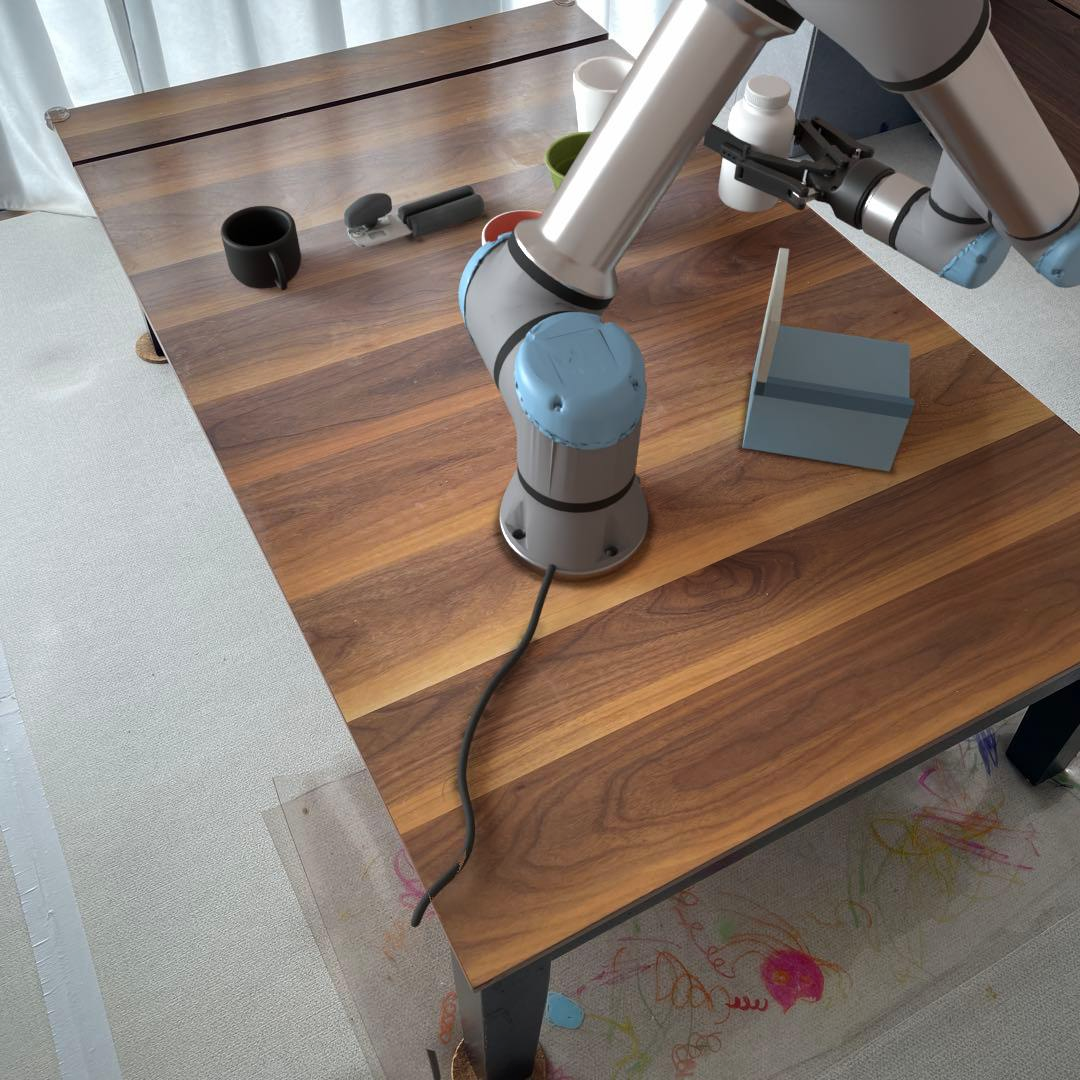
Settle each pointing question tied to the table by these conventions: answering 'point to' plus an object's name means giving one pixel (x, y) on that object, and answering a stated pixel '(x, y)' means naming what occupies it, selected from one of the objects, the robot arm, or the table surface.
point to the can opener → (409, 216)
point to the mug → (262, 246)
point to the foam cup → (597, 87)
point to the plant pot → (564, 155)
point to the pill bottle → (758, 137)
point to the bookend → (826, 392)
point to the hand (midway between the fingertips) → (729, 121)
